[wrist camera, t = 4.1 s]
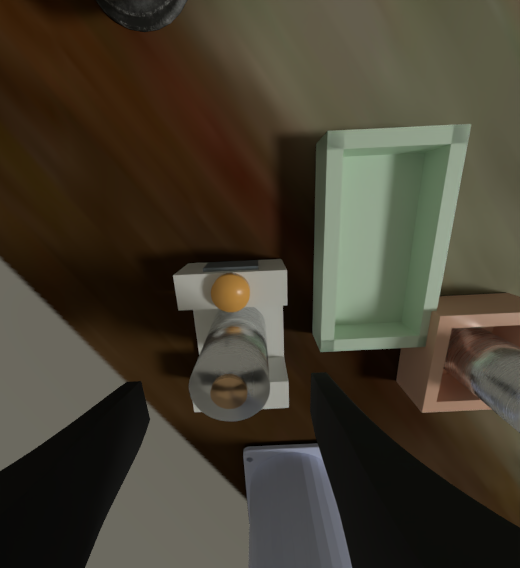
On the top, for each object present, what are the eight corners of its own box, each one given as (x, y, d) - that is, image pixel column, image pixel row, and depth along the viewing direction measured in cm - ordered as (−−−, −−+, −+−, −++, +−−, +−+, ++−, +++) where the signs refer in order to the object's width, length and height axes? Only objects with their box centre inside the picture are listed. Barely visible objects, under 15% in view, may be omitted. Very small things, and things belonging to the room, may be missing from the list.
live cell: (266, 348, 17) (271, 425, 11) (215, 351, 17) (192, 428, 11) (264, 301, 16) (268, 356, 10) (210, 303, 16) (181, 359, 10)
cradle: (283, 376, 18) (290, 415, 15) (204, 380, 18) (191, 420, 15) (281, 255, 15) (288, 268, 12) (188, 260, 15) (168, 274, 12)
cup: (485, 376, 18) (527, 407, 16) (396, 380, 18) (421, 412, 16) (507, 292, 16) (561, 310, 14) (408, 297, 16) (440, 316, 14)
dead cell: (473, 363, 18) (586, 443, 11) (423, 365, 18) (511, 446, 12) (484, 318, 16) (615, 380, 10) (431, 320, 16) (532, 383, 10)
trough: (407, 329, 17) (430, 346, 15) (312, 333, 17) (320, 351, 15) (436, 137, 14) (471, 123, 11) (316, 143, 14) (327, 130, 11)
